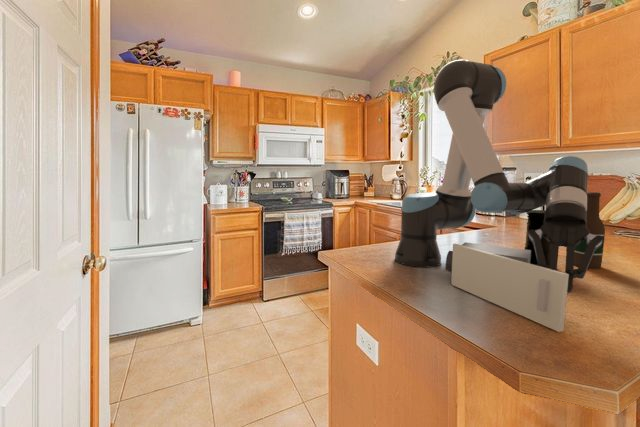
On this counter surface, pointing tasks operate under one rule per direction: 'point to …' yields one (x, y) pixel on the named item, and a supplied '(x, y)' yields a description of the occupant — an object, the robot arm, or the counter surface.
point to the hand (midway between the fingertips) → (558, 304)
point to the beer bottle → (592, 232)
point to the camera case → (502, 251)
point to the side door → (512, 284)
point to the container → (535, 224)
